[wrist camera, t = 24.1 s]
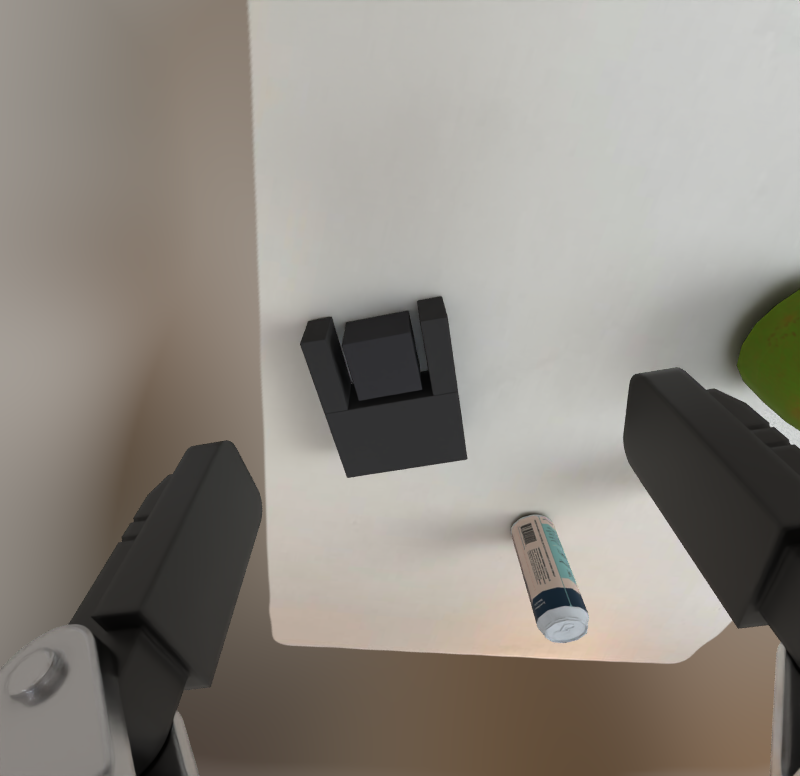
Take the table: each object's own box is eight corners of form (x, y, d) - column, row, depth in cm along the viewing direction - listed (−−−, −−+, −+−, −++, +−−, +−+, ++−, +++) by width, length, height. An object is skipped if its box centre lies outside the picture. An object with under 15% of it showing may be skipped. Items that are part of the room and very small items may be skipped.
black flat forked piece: (307, 320, 36) (299, 343, 32) (441, 295, 35) (447, 316, 31) (350, 448, 43) (347, 478, 40) (461, 431, 42) (467, 459, 39)
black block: (361, 375, 39) (358, 401, 35) (345, 322, 36) (341, 345, 33) (419, 364, 38) (422, 390, 35) (408, 310, 35) (410, 331, 32)
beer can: (504, 537, 51) (532, 643, 41) (517, 509, 49) (550, 615, 39) (543, 540, 52) (580, 647, 42) (558, 513, 49) (601, 619, 39)
